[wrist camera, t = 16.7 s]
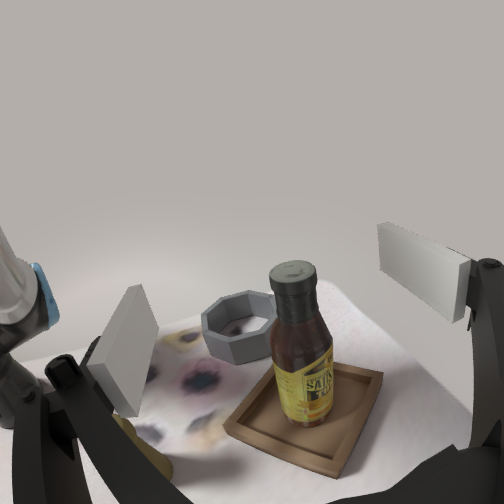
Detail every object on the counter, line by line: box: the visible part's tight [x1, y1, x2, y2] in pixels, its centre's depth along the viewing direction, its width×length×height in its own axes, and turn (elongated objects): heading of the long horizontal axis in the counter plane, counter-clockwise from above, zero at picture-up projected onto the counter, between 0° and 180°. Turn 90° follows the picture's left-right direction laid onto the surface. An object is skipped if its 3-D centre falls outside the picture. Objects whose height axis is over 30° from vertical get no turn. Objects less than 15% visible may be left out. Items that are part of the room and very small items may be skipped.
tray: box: [223, 362, 384, 480], centre depth 32 cm, size 15×15×2 cm
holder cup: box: [201, 290, 278, 365], centre depth 49 cm, size 13×13×5 cm
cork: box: [112, 414, 173, 481], centre depth 25 cm, size 6×6×11 cm
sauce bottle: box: [269, 260, 333, 427], centre depth 28 cm, size 7×6×20 cm
